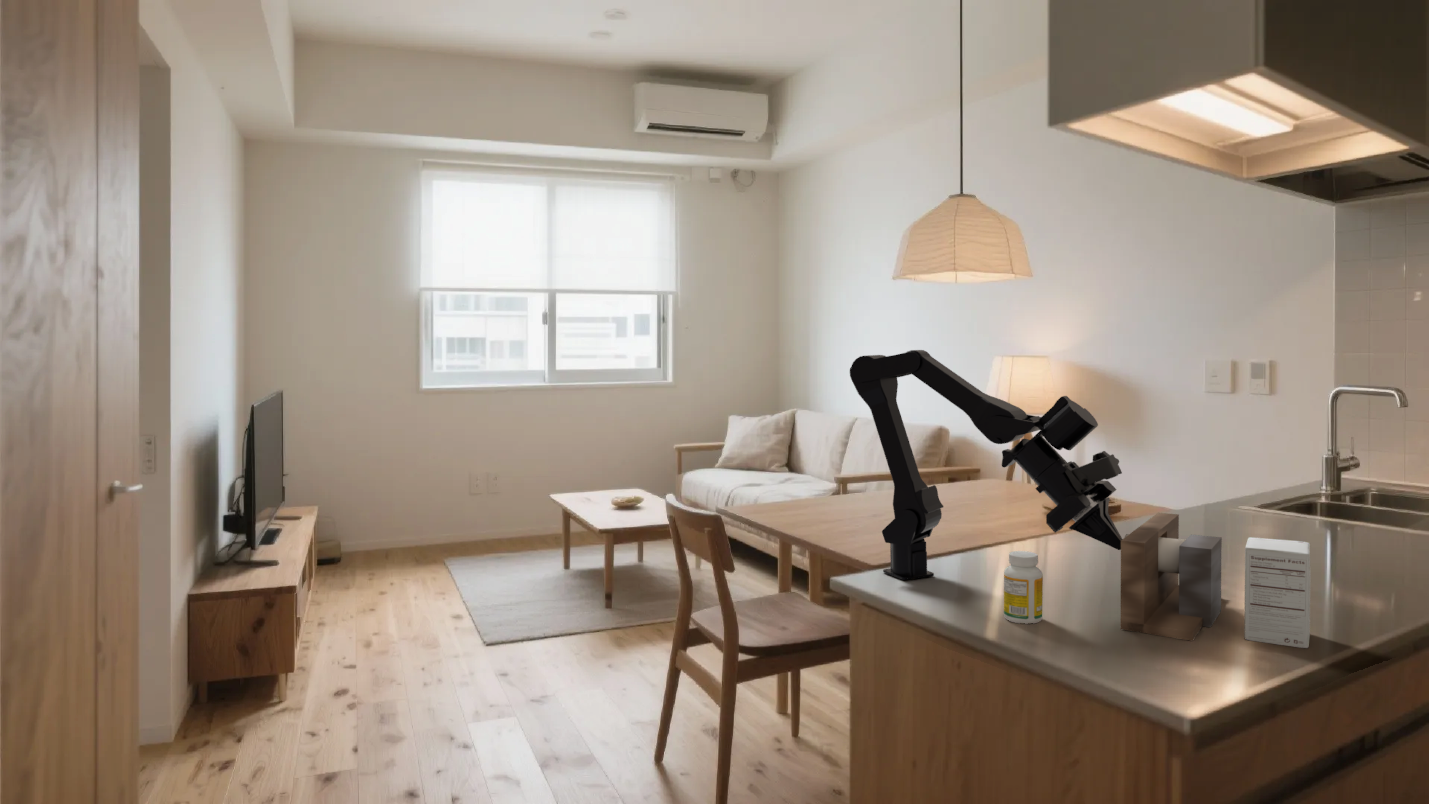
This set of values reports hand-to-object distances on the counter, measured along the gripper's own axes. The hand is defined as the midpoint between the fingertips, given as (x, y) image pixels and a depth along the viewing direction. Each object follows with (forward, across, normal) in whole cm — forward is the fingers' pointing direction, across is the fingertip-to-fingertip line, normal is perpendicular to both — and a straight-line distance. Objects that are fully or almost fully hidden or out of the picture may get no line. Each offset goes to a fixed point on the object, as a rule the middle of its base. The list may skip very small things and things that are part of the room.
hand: (1122, 547), depth 136 cm
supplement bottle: (-1, -14, +14) cm, 20 cm away
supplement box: (+21, -4, -8) cm, 23 cm away
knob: (+5, 0, -1) cm, 5 cm away
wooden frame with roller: (+11, 0, +1) cm, 11 cm away
